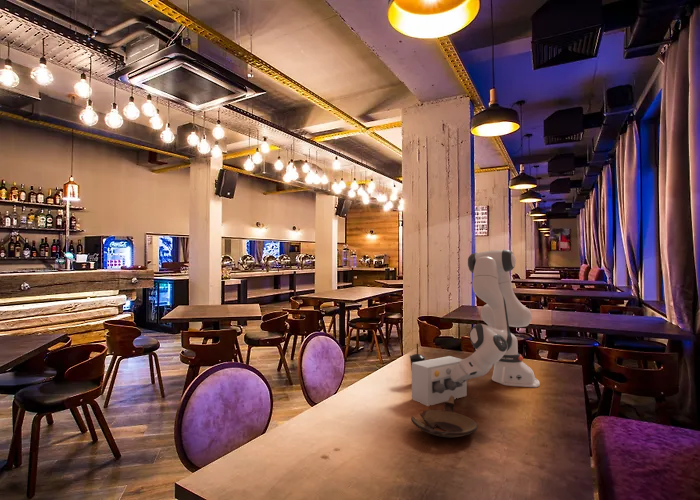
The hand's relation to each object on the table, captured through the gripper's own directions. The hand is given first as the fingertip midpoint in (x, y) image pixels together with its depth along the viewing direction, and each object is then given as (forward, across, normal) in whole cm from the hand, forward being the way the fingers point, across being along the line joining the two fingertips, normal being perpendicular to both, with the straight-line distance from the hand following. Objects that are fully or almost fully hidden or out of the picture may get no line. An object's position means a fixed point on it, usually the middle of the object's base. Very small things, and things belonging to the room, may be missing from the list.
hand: (461, 381), depth 172 cm
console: (+10, +7, +1) cm, 12 cm away
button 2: (+2, +7, +2) cm, 7 cm away
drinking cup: (+24, +2, -13) cm, 27 cm away
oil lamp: (-9, +30, +20) cm, 37 cm away
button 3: (+2, +14, +2) cm, 14 cm away
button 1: (+4, 0, 0) cm, 4 cm away
